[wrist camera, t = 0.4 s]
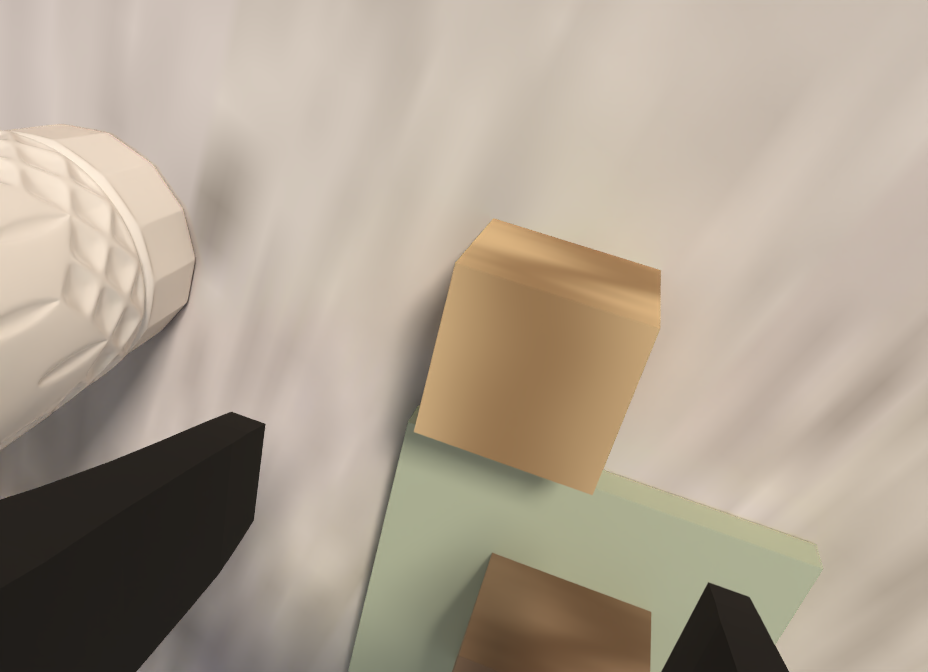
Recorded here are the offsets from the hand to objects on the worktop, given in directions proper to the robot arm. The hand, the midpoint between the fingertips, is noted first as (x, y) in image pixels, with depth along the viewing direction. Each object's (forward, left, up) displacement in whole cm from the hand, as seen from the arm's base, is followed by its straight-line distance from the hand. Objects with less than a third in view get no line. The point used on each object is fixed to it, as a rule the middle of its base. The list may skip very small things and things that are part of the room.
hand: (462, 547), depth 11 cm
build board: (-3, +10, -9) cm, 14 cm away
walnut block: (-3, +10, -8) cm, 13 cm away
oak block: (0, 0, -10) cm, 10 cm away
